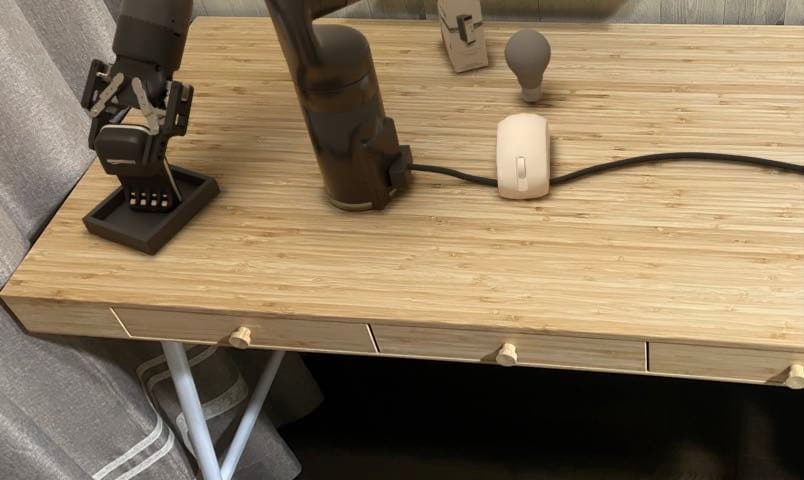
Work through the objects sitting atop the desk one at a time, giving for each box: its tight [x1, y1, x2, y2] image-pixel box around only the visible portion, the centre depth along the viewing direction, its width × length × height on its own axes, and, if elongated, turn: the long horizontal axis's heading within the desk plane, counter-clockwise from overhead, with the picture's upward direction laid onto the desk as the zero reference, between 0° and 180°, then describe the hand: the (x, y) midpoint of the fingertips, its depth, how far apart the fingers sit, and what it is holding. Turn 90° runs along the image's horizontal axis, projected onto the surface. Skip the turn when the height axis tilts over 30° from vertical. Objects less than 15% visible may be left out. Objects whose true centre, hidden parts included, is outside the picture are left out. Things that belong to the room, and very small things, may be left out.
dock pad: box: [81, 163, 221, 256], centre depth 124 cm, size 11×13×2 cm
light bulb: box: [503, 28, 552, 102], centre depth 131 cm, size 6×6×10 cm
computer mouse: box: [495, 112, 551, 200], centre depth 123 cm, size 6×13×6 cm, turn 0°
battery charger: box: [94, 122, 183, 212], centre depth 121 cm, size 7×4×11 cm, turn 80°
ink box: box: [435, 0, 489, 73], centre depth 139 cm, size 9×5×12 cm, turn 17°
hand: (123, 159), depth 118 cm, fingers open, 8 cm apart
